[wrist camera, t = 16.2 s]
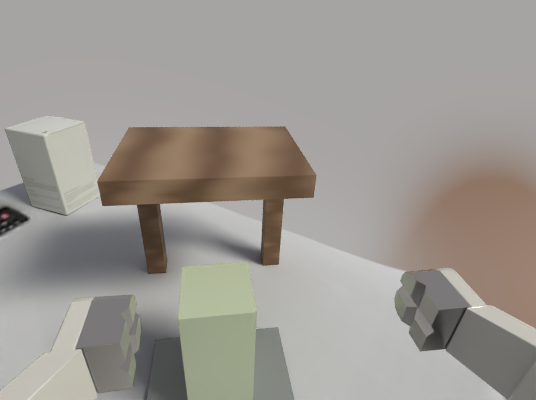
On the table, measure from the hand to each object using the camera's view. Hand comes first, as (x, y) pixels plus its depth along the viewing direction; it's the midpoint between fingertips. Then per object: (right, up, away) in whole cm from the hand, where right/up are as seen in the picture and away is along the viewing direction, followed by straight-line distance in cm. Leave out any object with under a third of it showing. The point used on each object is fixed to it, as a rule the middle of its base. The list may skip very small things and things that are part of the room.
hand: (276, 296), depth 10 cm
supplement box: (-33, +3, +45) cm, 55 cm away
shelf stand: (-6, -8, +29) cm, 30 cm away
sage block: (-4, -13, +19) cm, 23 cm away
